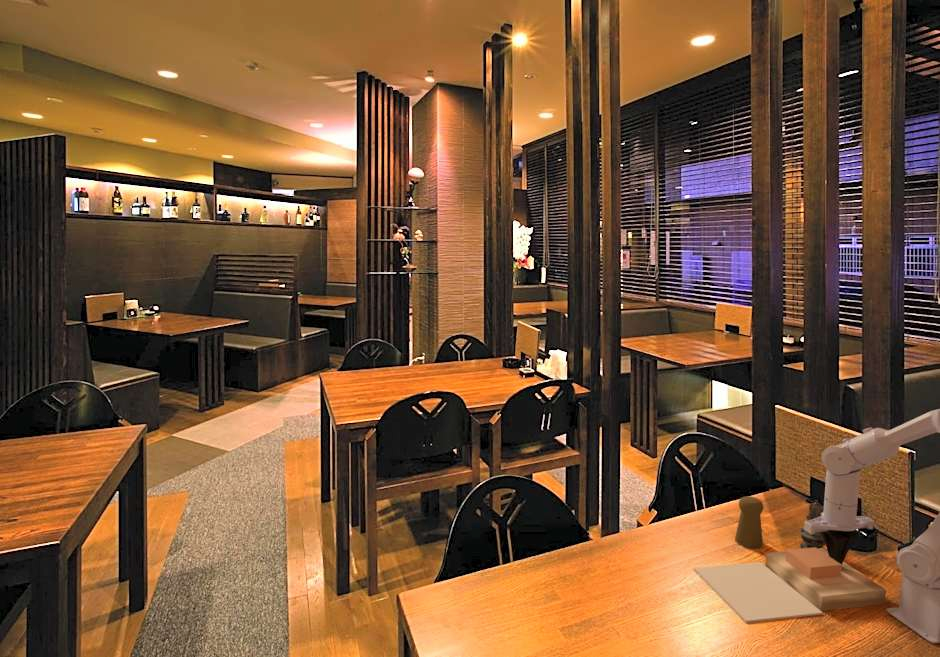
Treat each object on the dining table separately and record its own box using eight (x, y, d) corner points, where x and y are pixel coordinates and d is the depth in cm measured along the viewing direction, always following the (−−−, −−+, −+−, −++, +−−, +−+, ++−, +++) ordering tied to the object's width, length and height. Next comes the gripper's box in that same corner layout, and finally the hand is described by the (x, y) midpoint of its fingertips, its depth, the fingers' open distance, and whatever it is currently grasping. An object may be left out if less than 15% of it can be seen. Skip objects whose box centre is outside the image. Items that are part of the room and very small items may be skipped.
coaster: (840, 576, 113) (841, 564, 113) (809, 579, 112) (810, 567, 112) (814, 558, 120) (815, 547, 119) (785, 560, 119) (786, 549, 118)
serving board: (884, 603, 109) (886, 589, 108) (820, 610, 107) (821, 596, 106) (822, 560, 124) (822, 548, 124) (765, 565, 122) (766, 553, 122)
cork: (729, 539, 134) (731, 496, 133) (746, 534, 137) (749, 491, 135) (751, 551, 129) (753, 506, 127) (768, 545, 131) (771, 501, 130)
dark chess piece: (832, 556, 126) (836, 506, 125) (804, 553, 127) (807, 504, 126) (821, 543, 132) (825, 495, 130) (794, 541, 133) (798, 493, 131)
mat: (822, 614, 106) (822, 612, 106) (745, 622, 103) (745, 620, 103) (760, 563, 123) (760, 562, 123) (693, 569, 121) (693, 568, 121)
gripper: (855, 490, 120) (850, 549, 121) (795, 494, 118) (791, 554, 119) (884, 504, 113) (878, 567, 115) (820, 509, 111) (815, 572, 113)
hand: (835, 562), depth 117 cm, fingers closed
